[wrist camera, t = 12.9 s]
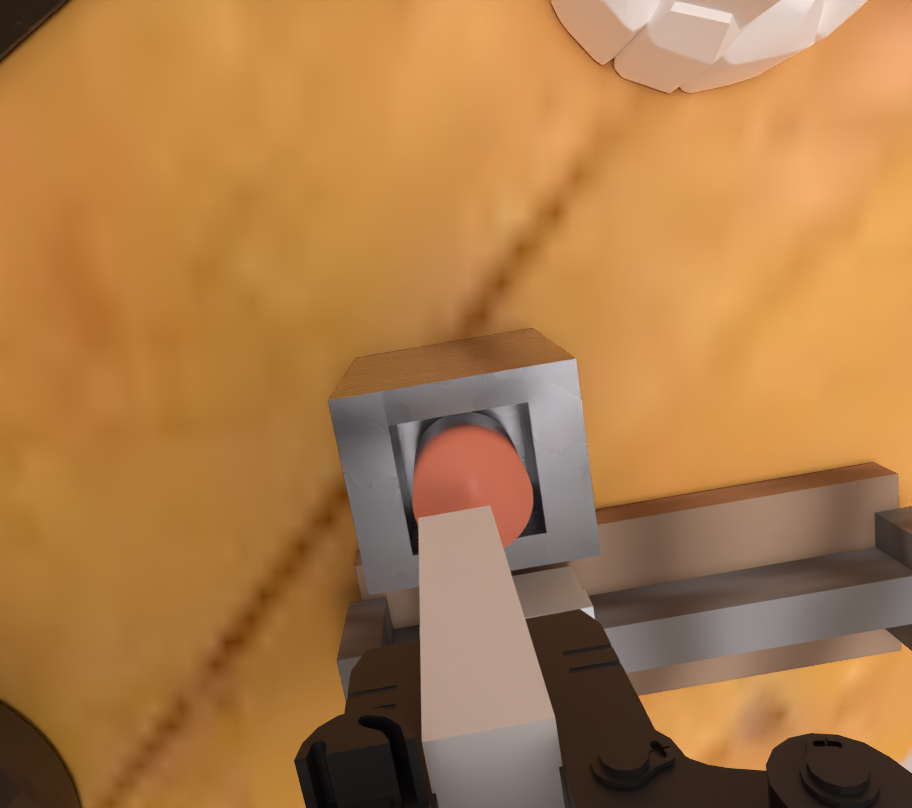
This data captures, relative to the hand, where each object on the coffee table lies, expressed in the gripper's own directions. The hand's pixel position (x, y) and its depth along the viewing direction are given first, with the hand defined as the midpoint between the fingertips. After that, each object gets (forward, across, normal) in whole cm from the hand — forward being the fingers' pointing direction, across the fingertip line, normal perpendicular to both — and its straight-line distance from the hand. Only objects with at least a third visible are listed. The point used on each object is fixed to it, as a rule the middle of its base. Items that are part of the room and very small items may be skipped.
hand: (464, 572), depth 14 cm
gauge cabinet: (+14, +1, 0) cm, 14 cm away
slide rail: (+14, +7, -9) cm, 18 cm away
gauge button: (+7, +1, 0) cm, 7 cm away
